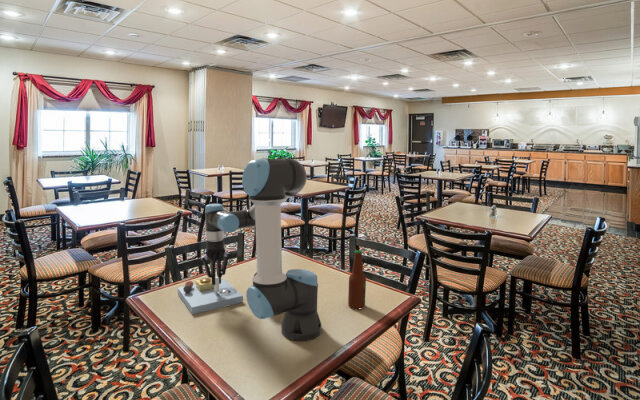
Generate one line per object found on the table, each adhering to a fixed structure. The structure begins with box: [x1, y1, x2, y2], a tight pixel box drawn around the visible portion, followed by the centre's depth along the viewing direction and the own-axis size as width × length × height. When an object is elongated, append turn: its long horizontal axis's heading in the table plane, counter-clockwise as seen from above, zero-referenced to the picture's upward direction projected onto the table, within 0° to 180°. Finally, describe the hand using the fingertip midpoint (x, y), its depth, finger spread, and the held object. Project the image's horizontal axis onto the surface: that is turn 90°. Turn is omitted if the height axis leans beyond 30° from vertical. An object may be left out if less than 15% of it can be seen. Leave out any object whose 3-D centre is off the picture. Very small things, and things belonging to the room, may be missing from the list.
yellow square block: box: [195, 277, 214, 291], centre depth 171 cm, size 7×7×4 cm
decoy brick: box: [184, 280, 194, 287], centre depth 170 cm, size 4×4×4 cm
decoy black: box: [183, 285, 192, 293], centre depth 165 cm, size 4×4×4 cm
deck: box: [177, 278, 244, 315], centre depth 167 cm, size 24×22×3 cm
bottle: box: [347, 249, 367, 310], centre depth 159 cm, size 7×7×25 cm
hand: (216, 291), depth 164 cm, fingers closed
